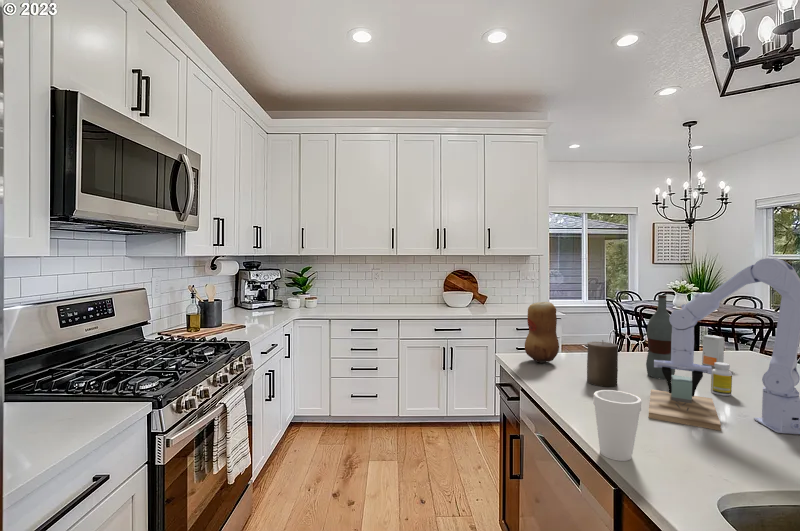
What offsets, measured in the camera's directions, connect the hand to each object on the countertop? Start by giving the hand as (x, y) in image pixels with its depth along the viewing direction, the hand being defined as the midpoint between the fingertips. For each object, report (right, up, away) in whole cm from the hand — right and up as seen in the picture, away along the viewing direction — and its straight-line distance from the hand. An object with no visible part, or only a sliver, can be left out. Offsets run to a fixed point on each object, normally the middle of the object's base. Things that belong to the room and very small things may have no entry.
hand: (681, 393), depth 131 cm
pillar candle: (-15, -2, +20) cm, 25 cm away
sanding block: (0, -1, 0) cm, 1 cm away
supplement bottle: (+19, -3, +10) cm, 22 cm away
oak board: (-4, -3, -6) cm, 8 cm away
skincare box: (+42, -2, +45) cm, 62 cm away
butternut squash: (-26, -1, +48) cm, 55 cm away
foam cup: (-37, -4, -34) cm, 50 cm away
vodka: (+11, -2, +29) cm, 31 cm away
